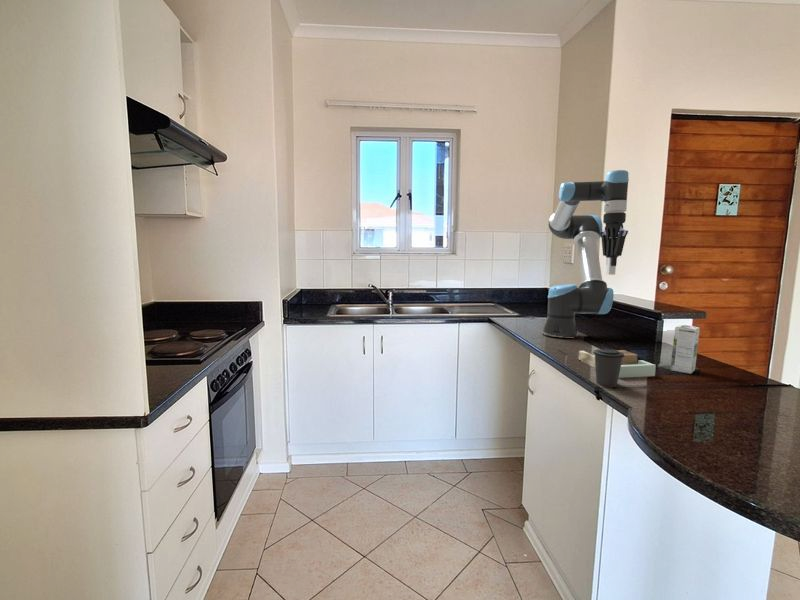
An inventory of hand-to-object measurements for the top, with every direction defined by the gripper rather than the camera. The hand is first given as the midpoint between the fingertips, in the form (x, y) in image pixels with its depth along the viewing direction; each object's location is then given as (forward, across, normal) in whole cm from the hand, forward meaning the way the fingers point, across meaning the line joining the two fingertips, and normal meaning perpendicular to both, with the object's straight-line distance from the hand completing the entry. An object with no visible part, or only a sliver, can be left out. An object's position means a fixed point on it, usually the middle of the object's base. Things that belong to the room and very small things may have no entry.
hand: (610, 274), depth 154 cm
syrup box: (+30, +31, +5) cm, 43 cm away
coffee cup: (+30, +39, -28) cm, 56 cm away
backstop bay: (+29, +32, -15) cm, 46 cm away
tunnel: (+29, +20, -15) cm, 39 cm away
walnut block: (+30, +28, -15) cm, 43 cm away
